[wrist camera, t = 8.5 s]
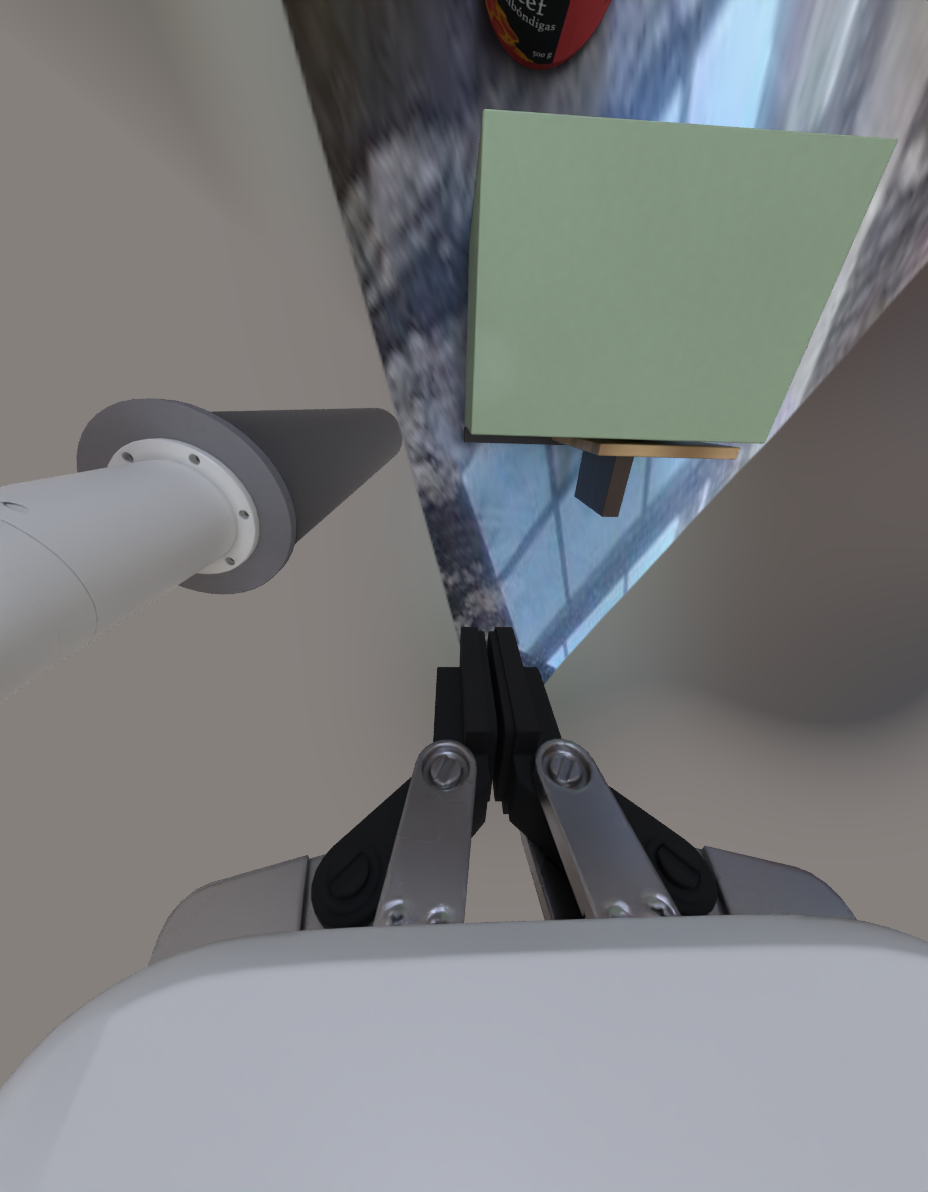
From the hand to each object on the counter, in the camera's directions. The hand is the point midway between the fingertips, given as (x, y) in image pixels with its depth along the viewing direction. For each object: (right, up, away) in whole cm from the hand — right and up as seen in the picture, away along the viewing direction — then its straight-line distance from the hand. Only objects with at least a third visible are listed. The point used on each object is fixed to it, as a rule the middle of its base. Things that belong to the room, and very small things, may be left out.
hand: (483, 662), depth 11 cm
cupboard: (+9, +23, +16) cm, 29 cm away
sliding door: (+12, +15, +20) cm, 28 cm away
